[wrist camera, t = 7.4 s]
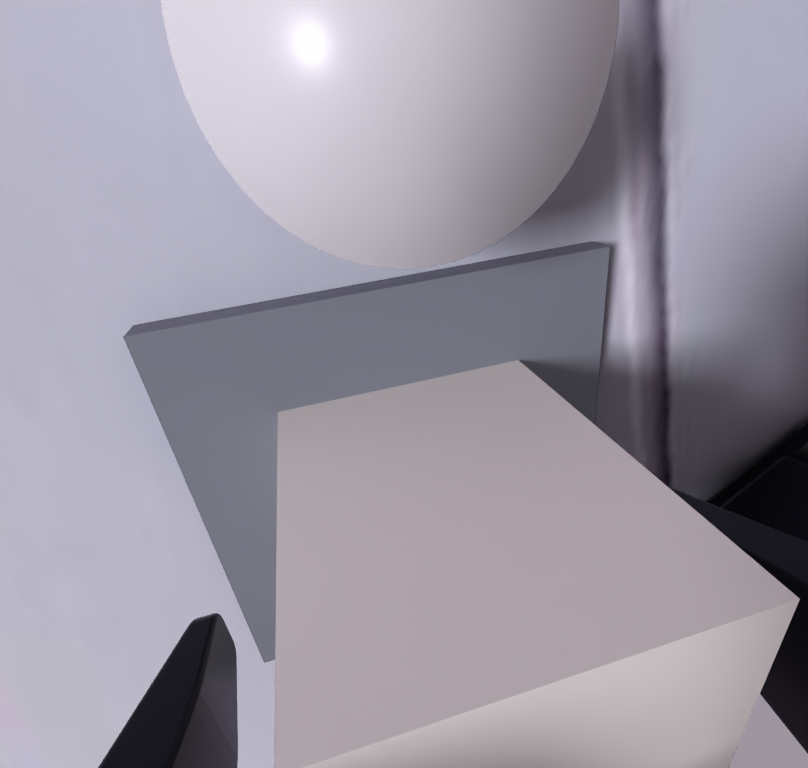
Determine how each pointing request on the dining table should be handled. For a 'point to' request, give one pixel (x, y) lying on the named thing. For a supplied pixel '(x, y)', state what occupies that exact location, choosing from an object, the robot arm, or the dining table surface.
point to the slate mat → (350, 376)
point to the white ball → (395, 113)
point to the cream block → (502, 590)
